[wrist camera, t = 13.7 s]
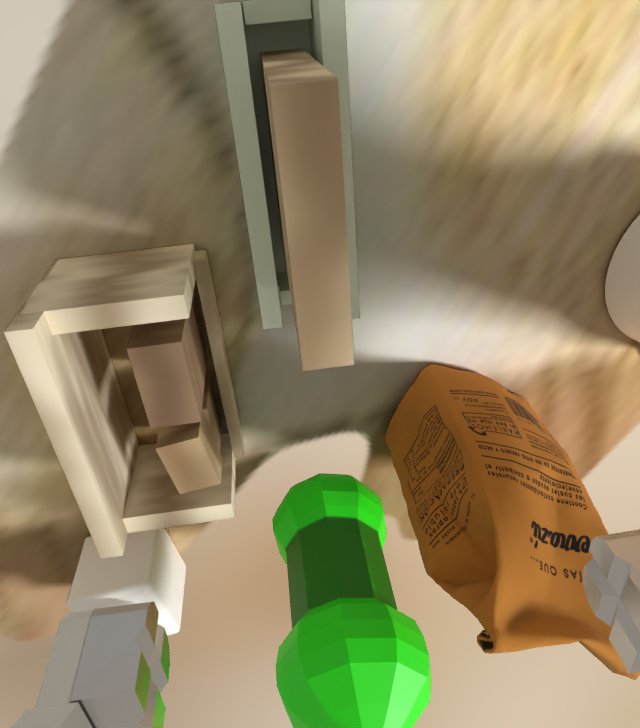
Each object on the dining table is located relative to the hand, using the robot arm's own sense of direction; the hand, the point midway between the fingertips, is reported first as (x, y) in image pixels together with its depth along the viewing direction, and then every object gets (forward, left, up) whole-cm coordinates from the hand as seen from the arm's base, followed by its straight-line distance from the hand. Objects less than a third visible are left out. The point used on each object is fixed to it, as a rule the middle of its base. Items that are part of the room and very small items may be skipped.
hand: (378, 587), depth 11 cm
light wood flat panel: (-1, -1, -31) cm, 31 cm away
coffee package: (-13, +22, -32) cm, 41 cm away
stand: (-1, -1, -32) cm, 32 cm away
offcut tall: (+9, +10, -32) cm, 34 cm away
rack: (+11, +13, -32) cm, 36 cm away
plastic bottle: (-1, +29, -32) cm, 43 cm away
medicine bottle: (+17, +33, -32) cm, 49 cm away
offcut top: (+9, +17, -26) cm, 33 cm away
